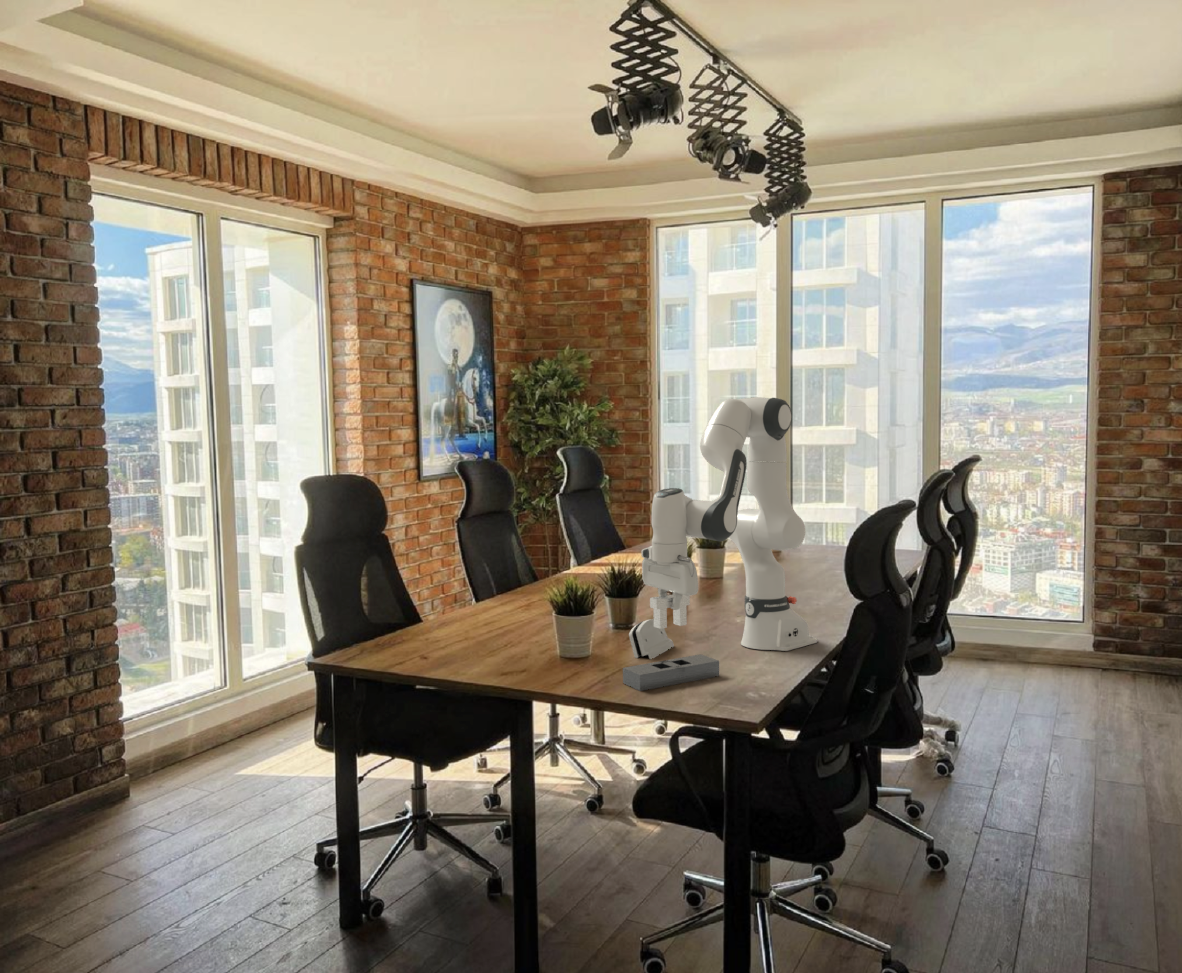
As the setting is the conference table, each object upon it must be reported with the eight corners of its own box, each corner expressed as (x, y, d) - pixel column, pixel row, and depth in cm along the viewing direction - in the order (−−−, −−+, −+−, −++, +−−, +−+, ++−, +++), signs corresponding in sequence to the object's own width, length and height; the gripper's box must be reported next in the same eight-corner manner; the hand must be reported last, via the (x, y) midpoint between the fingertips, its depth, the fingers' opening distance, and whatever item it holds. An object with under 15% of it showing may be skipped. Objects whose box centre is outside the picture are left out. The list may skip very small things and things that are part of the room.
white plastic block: (650, 659, 268) (639, 624, 269) (636, 663, 271) (624, 629, 271) (674, 645, 283) (663, 613, 284) (660, 649, 285) (649, 617, 286)
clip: (683, 622, 251) (682, 593, 250) (689, 624, 248) (689, 595, 247) (650, 627, 246) (649, 597, 245) (656, 629, 243) (656, 599, 243)
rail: (700, 669, 257) (700, 654, 257) (719, 676, 250) (719, 660, 250) (623, 683, 246) (622, 667, 245) (640, 691, 239) (639, 675, 238)
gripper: (704, 557, 238) (704, 613, 239) (657, 547, 256) (658, 600, 257) (682, 559, 235) (683, 616, 236) (637, 549, 253) (638, 602, 254)
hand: (670, 607), depth 247 cm, fingers closed on clip, 3 cm apart
